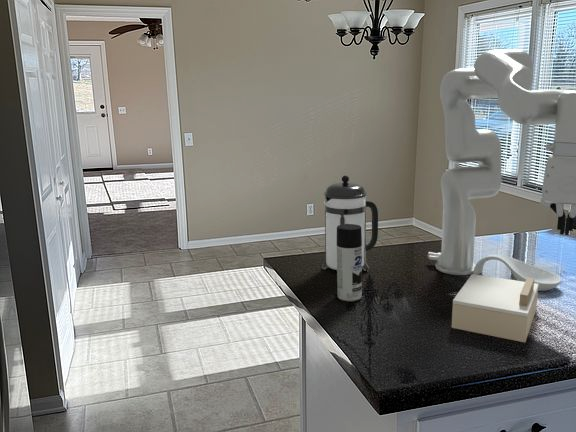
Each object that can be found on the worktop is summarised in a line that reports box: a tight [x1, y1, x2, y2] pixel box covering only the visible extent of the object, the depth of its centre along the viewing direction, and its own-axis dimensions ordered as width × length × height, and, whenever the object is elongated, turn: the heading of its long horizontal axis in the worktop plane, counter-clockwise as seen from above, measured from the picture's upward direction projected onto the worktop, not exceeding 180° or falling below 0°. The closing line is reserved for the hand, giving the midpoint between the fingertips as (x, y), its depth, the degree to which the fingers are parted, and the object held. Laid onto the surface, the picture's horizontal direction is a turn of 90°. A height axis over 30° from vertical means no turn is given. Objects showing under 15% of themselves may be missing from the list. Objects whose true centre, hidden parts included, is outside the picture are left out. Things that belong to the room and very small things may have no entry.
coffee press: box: [321, 175, 379, 273], centre depth 162 cm, size 17×16×30 cm
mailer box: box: [451, 289, 539, 343], centre depth 127 cm, size 16×20×6 cm
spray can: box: [336, 224, 363, 302], centre depth 141 cm, size 7×7×20 cm
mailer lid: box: [452, 274, 539, 317], centre depth 126 cm, size 16×20×3 cm
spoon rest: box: [473, 253, 563, 292], centre depth 150 cm, size 24×12×7 cm, turn 47°
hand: (564, 233), depth 116 cm, fingers closed
